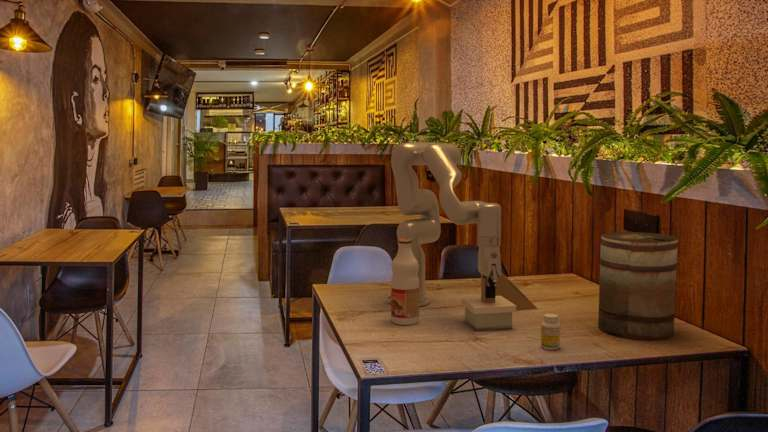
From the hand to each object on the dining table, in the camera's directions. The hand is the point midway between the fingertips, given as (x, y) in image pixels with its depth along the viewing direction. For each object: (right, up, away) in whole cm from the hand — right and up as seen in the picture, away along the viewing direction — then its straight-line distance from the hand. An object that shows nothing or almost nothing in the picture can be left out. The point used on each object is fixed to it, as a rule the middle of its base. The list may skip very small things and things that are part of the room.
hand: (488, 295), depth 210 cm
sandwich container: (+13, -7, +23) cm, 28 cm away
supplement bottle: (+15, -13, -23) cm, 30 cm away
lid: (0, -4, 0) cm, 4 cm away
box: (0, -10, +1) cm, 10 cm away
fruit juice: (-27, -10, +5) cm, 29 cm away
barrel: (+46, -10, -6) cm, 48 cm away
